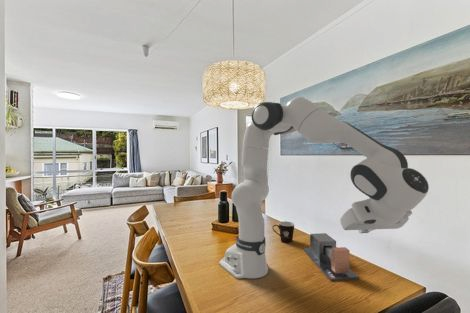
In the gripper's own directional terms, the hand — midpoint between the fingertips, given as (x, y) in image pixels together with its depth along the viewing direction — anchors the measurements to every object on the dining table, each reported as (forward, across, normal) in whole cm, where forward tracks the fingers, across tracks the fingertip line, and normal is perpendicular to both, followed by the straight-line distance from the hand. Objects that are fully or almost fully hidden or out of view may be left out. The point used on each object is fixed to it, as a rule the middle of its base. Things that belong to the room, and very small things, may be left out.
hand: (362, 231), depth 80 cm
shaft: (+30, 0, 0) cm, 30 cm away
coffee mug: (+53, +12, -20) cm, 58 cm away
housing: (+34, 0, -2) cm, 34 cm away
